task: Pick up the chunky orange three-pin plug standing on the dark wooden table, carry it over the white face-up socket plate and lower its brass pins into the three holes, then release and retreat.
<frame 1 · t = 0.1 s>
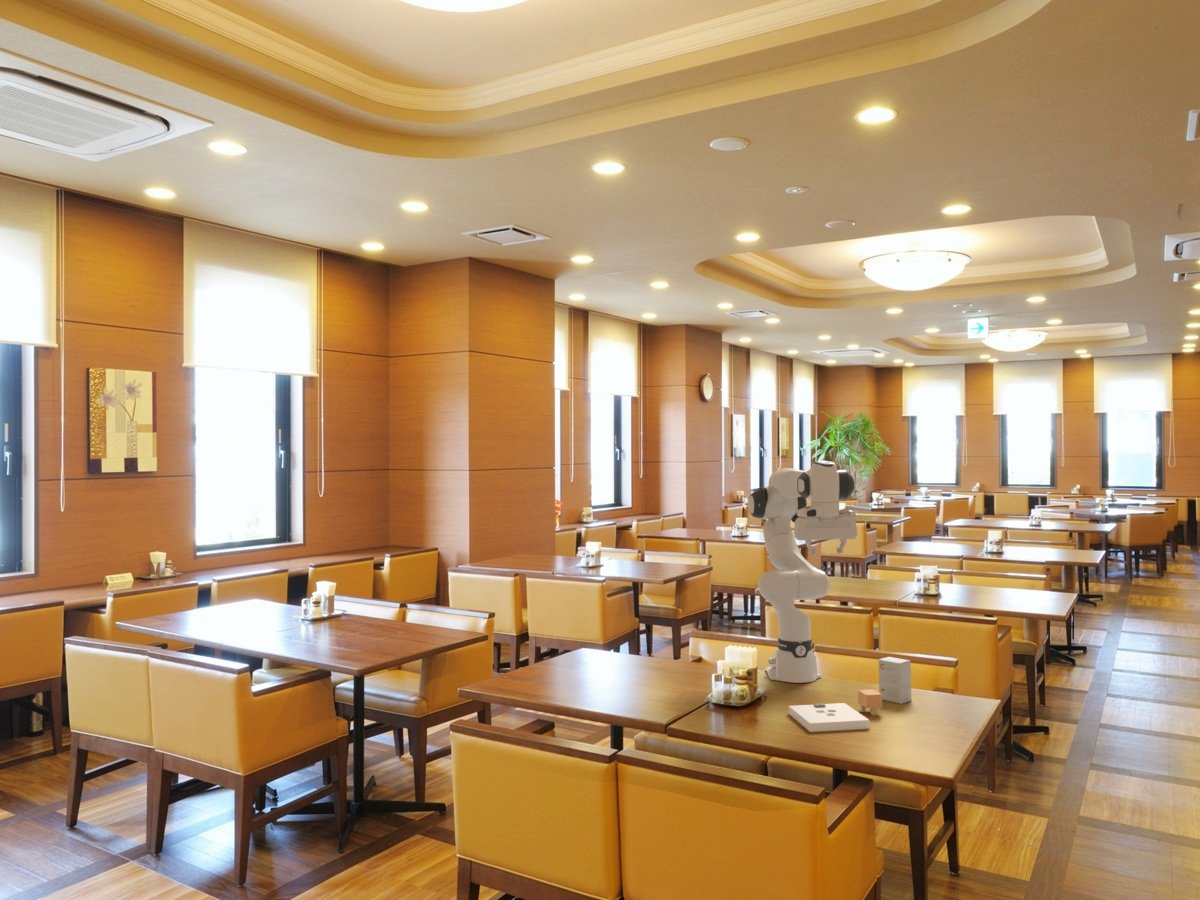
hand: (826, 553, 279), 48 cm above the table, fingers open, 8 cm apart
plug: (870, 712, 267), on the table
socket plate: (828, 721, 259), on the table
small box: (895, 700, 280), on the table
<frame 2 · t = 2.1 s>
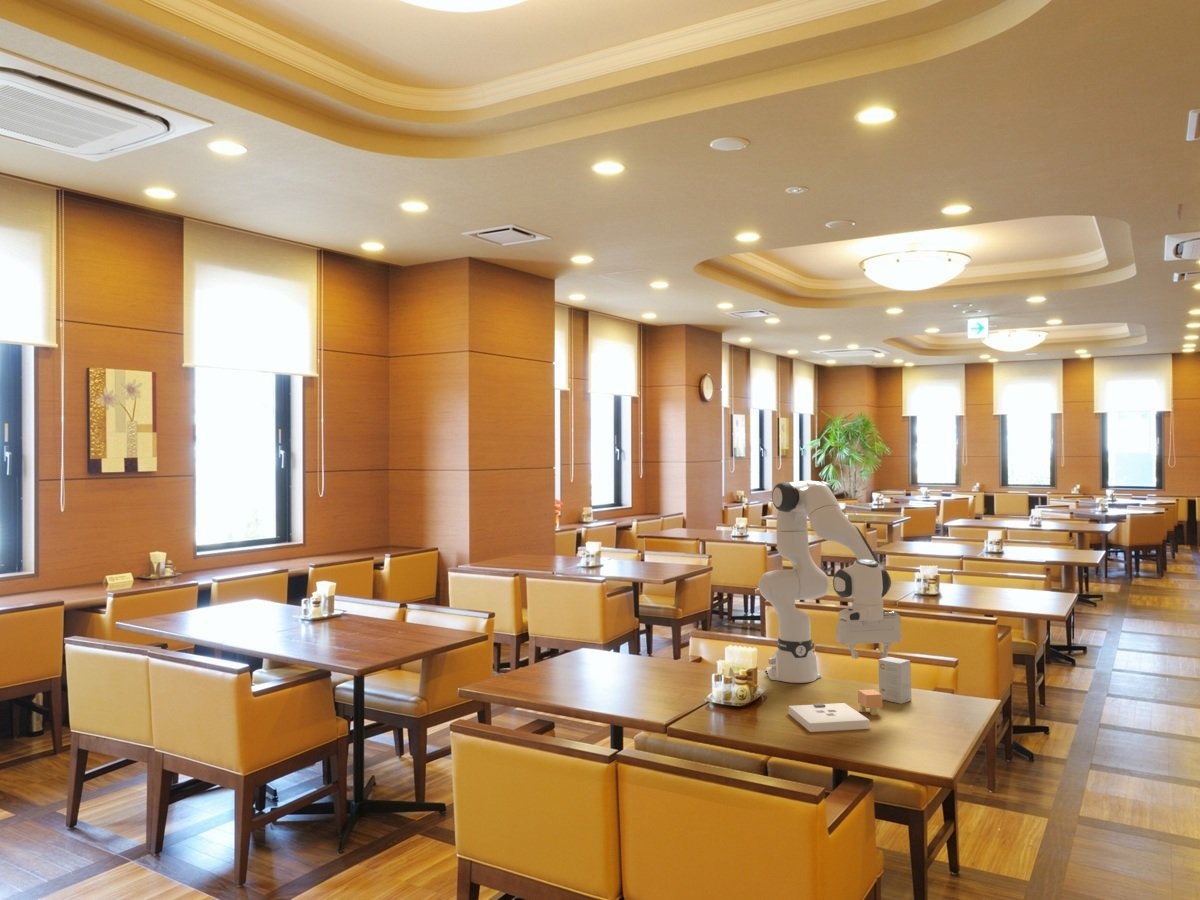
hand: (869, 657, 267), 17 cm above the table, fingers open, 8 cm apart
nothing on the table moved.
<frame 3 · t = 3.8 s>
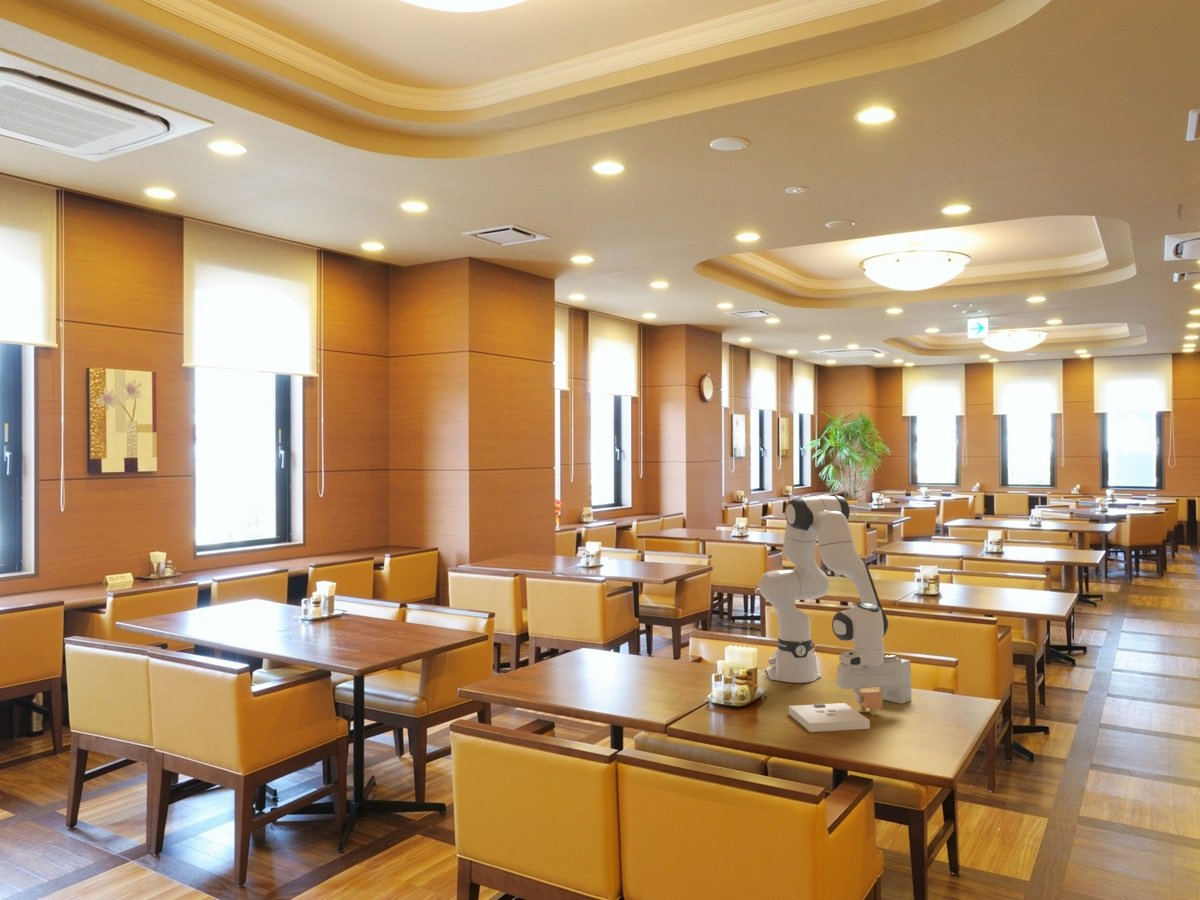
hand: (870, 701, 267), 3 cm above the table, fingers closed on plug, 5 cm apart
plug: (870, 712, 267), on the table, touching gripper
everything else where it was.
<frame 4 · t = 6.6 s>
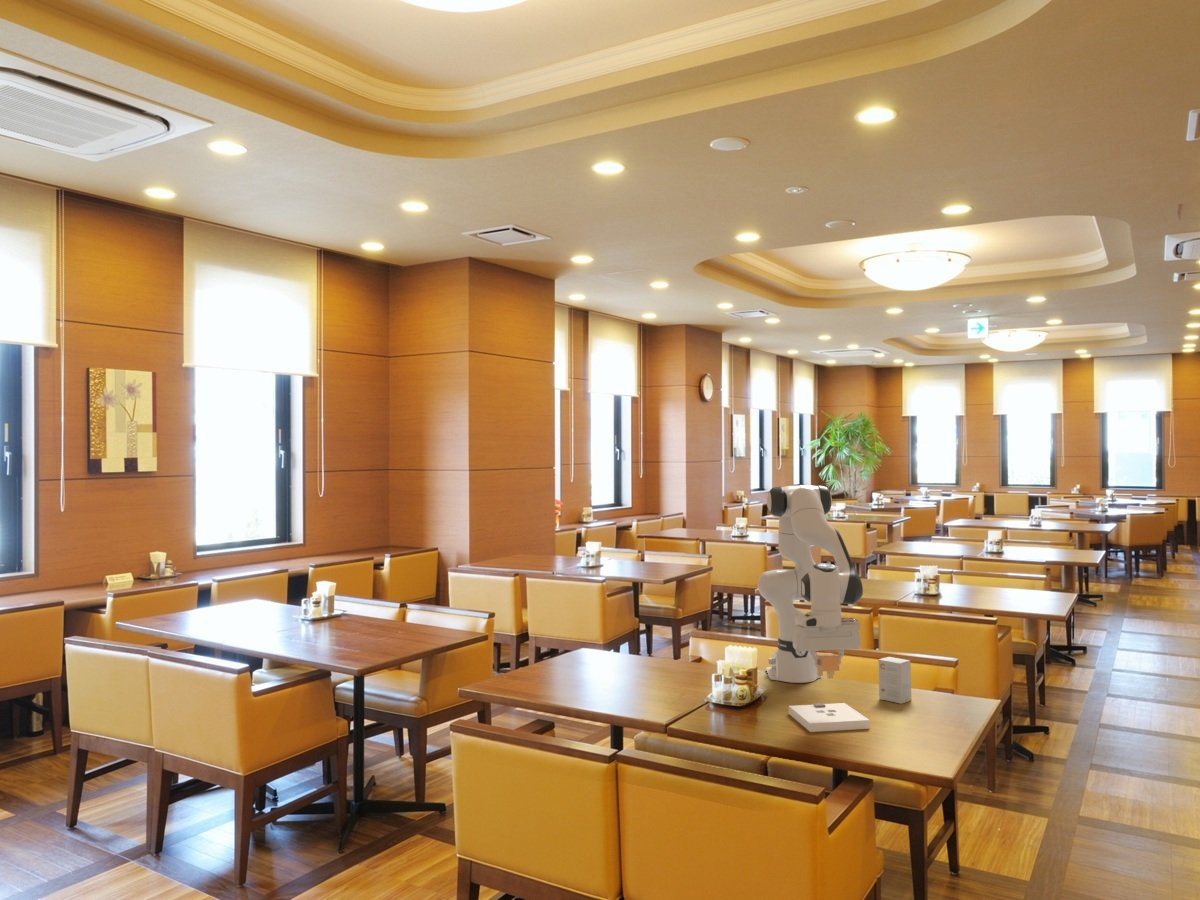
hand: (827, 664, 259), 17 cm above the table, fingers closed on plug, 5 cm apart
plug: (827, 676, 258), point 13 cm above the table, touching gripper
everything else where it was.
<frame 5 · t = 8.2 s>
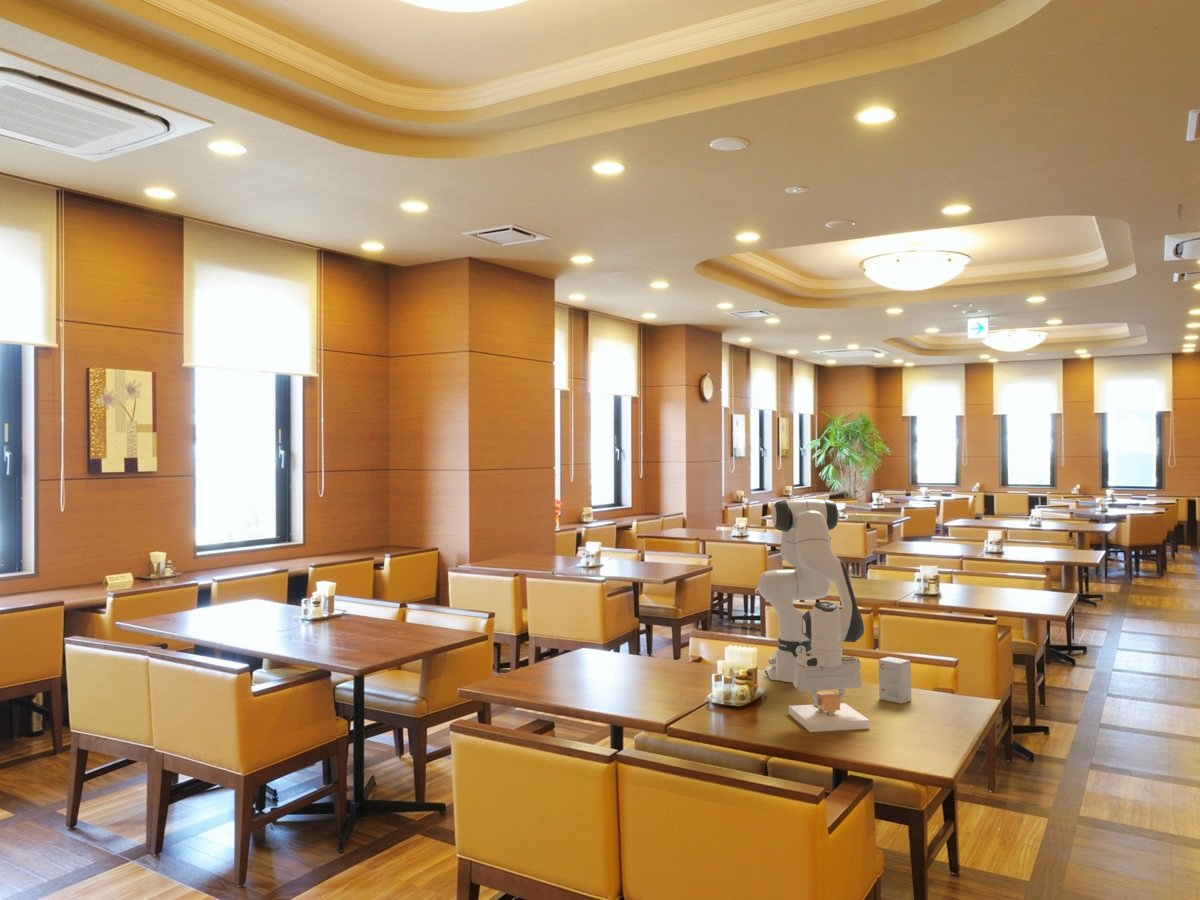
hand: (827, 703, 259), 5 cm above the table, fingers closed on plug, 5 cm apart
plug: (828, 715, 258), point 2 cm above the table, touching gripper
everything else where it was.
when the fingers open (4 cm above the table, at t = 9.6 s): plug stays where it is, resting on socket plate.
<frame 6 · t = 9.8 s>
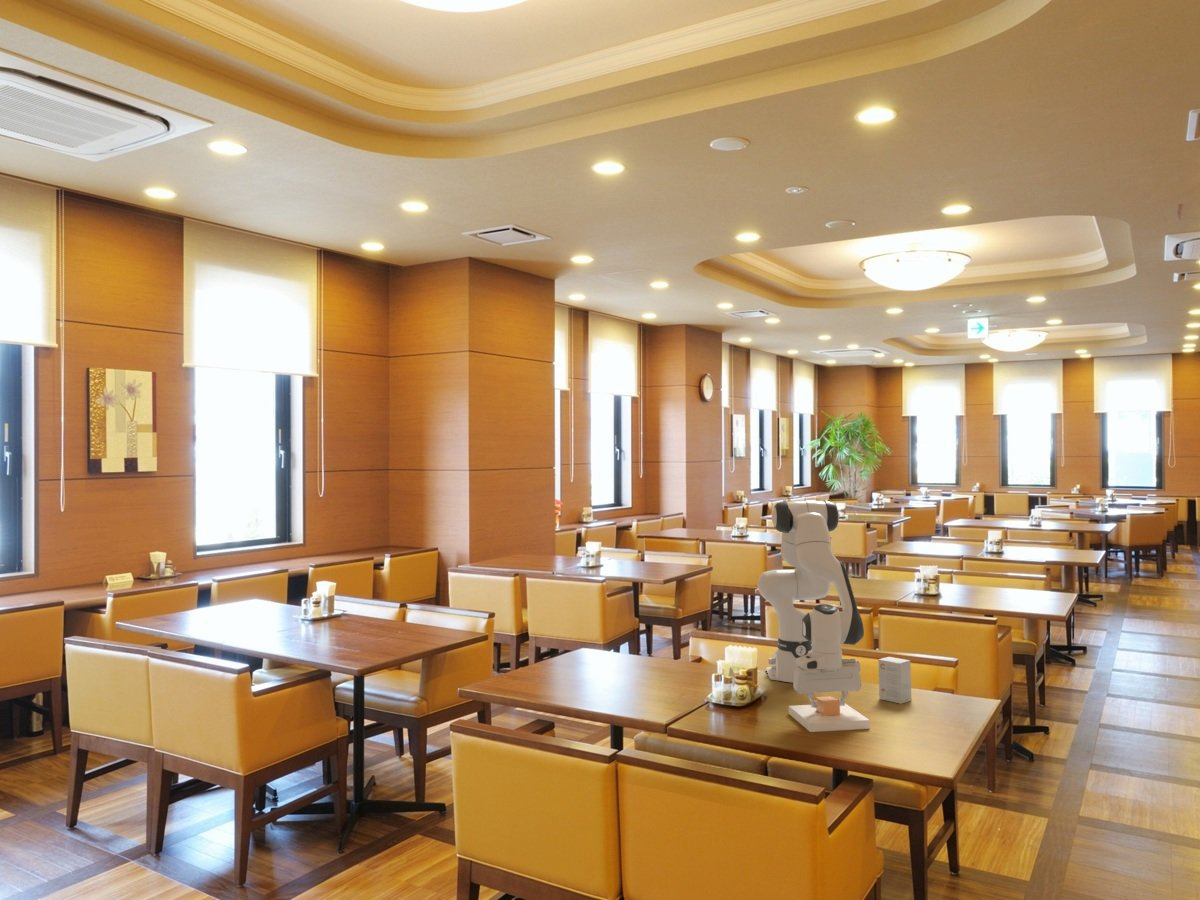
hand: (827, 706, 259), 4 cm above the table, fingers open, 7 cm apart
plug: (828, 720, 259), resting on socket plate
everything else where it was.
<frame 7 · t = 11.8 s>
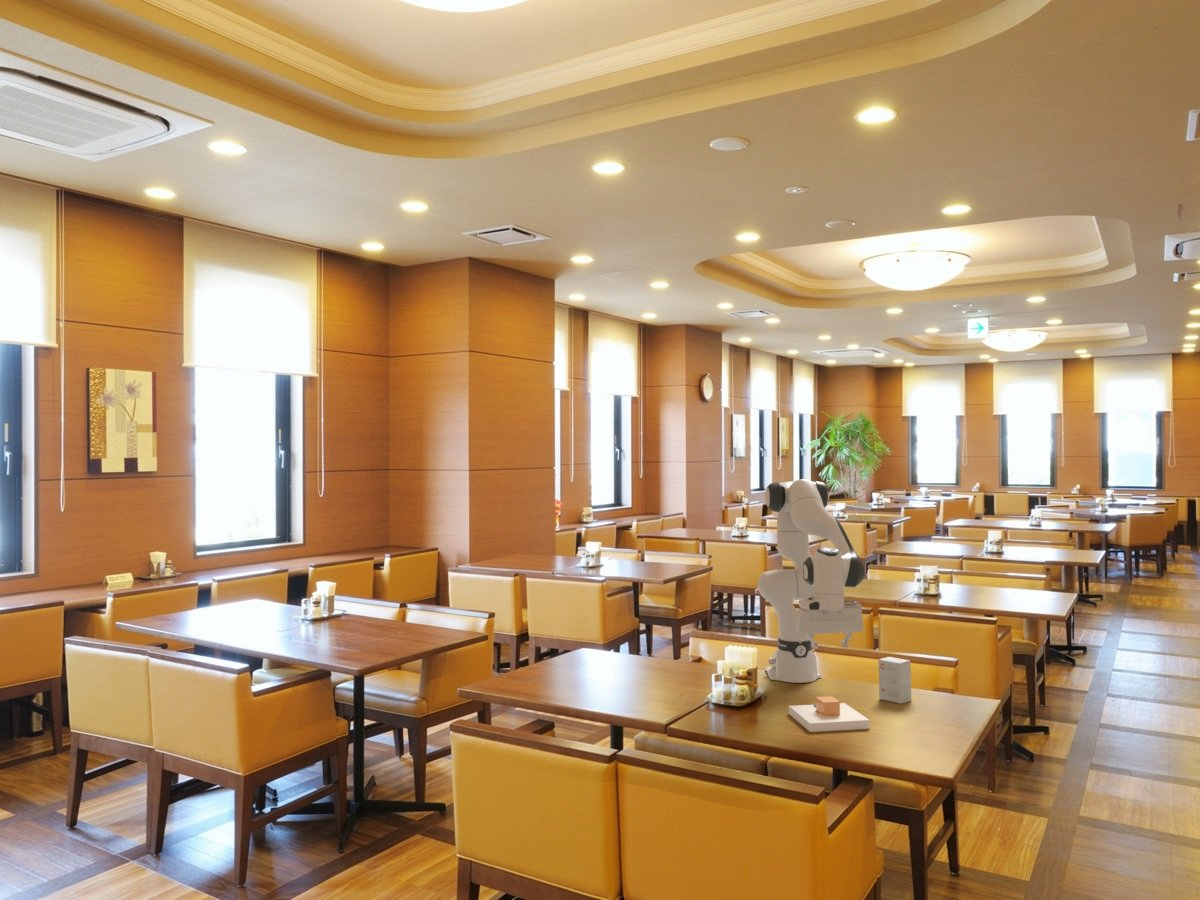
hand: (829, 647, 261), 21 cm above the table, fingers open, 8 cm apart
nothing on the table moved.
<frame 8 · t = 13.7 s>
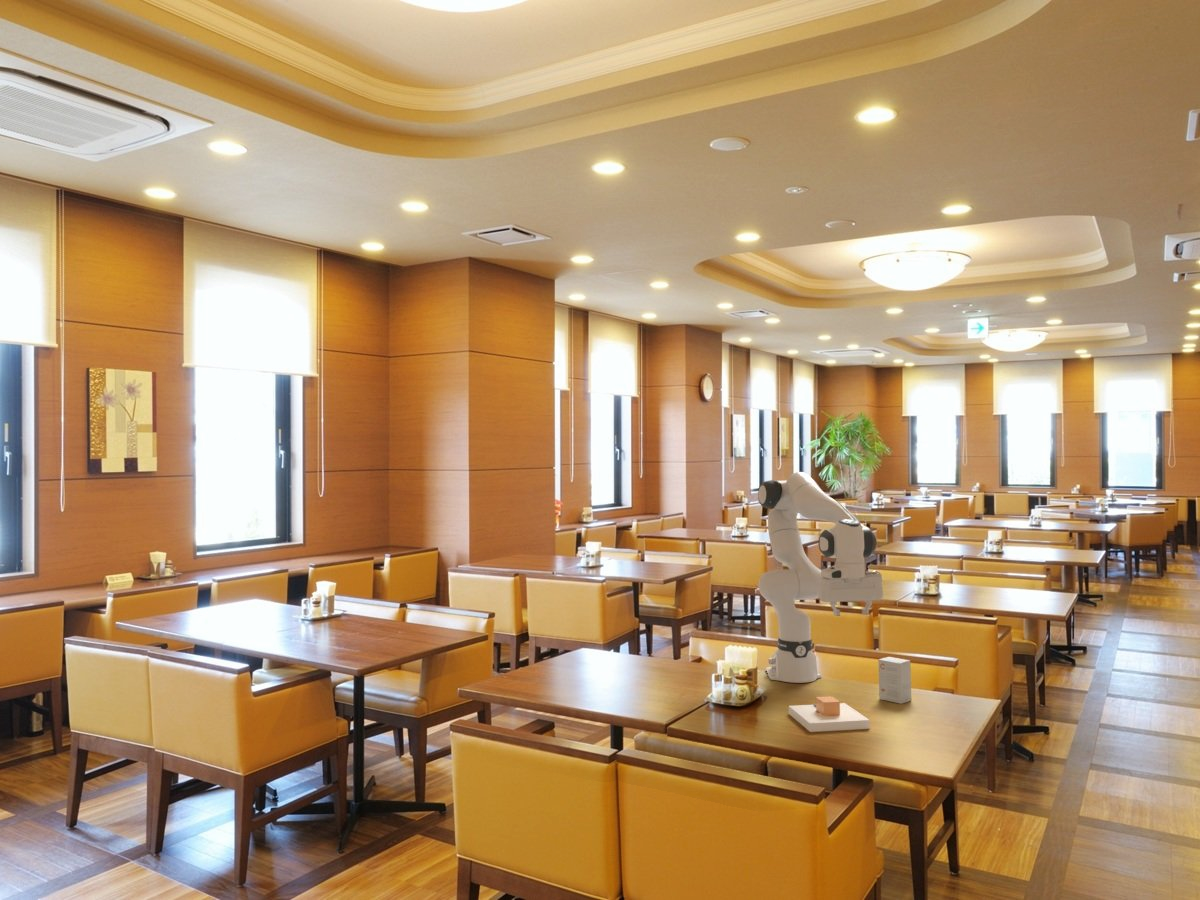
hand: (851, 615, 272), 29 cm above the table, fingers open, 8 cm apart
nothing on the table moved.
at the end: plug 0.0 cm off-centre on the socket plate, point 0.2 cm above the socket plate's base; the gripper is holding nothing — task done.
